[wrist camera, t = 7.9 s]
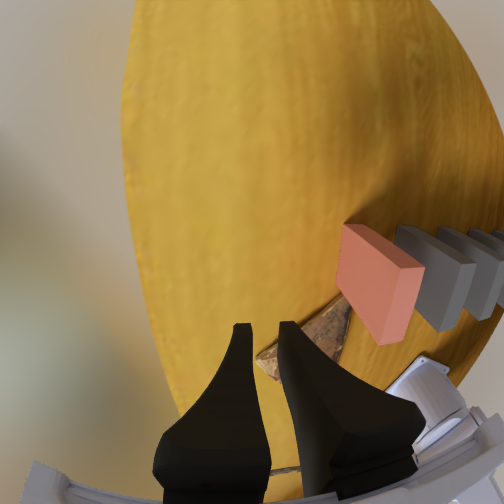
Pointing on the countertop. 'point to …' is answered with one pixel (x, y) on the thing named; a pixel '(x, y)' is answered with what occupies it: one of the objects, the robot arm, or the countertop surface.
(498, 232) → the domino
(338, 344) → the shard
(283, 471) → the grey brown bark strip
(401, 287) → the red domino
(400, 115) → the countertop surface
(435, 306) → the domino
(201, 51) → the countertop surface
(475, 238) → the domino
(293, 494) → the countertop surface
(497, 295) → the domino
